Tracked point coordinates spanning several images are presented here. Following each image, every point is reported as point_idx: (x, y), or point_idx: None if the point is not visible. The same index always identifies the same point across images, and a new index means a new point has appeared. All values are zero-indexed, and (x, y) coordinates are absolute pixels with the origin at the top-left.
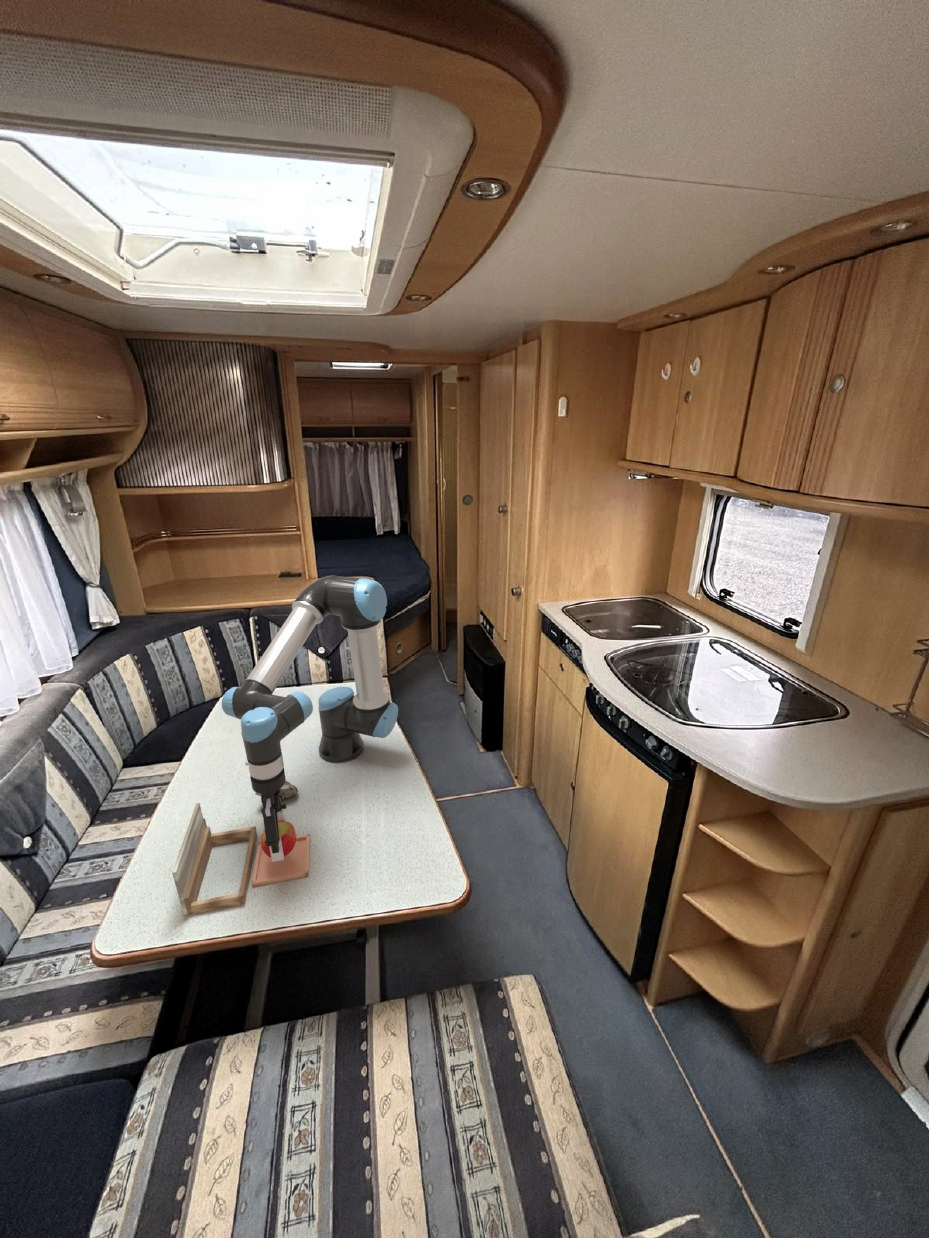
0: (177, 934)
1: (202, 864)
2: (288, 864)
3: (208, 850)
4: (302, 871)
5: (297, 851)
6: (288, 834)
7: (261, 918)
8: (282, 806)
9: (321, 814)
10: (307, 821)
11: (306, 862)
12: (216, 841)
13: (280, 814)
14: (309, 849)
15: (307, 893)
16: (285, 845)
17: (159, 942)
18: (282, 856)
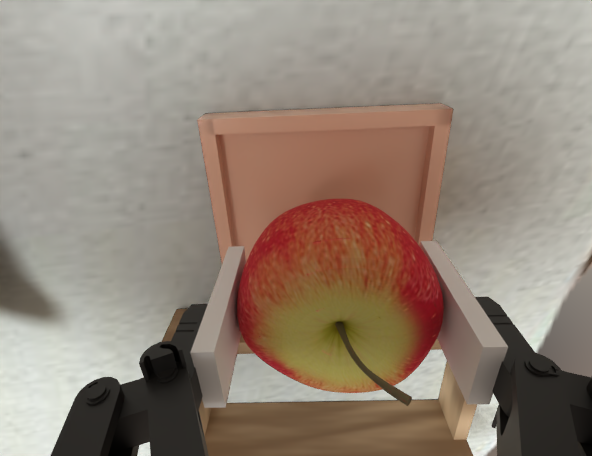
0: (486, 416)
1: (318, 442)
2: (355, 196)
3: (248, 427)
4: (433, 135)
5: (289, 167)
6: (401, 276)
7: (546, 252)
8: (177, 387)
9: (33, 66)
10: (90, 136)
11: (384, 120)
12: (206, 412)
13: (221, 356)
14: (285, 112)
15: (520, 101)
16: (429, 265)
17: (490, 437)
18: (443, 255)
